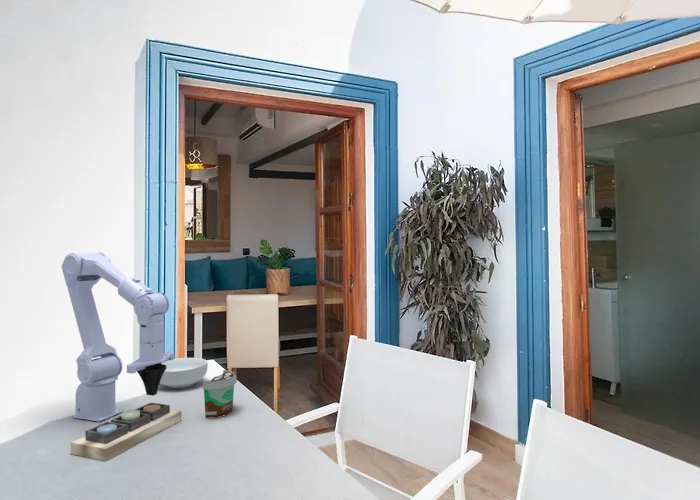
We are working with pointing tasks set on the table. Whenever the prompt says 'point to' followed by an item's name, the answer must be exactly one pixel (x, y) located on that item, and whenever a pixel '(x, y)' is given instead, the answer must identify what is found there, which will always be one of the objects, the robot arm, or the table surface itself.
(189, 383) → the cereal bowl
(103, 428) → the button blue
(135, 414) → the button sage
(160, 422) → the button board
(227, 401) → the food container
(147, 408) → the button terracotta
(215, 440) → the table surface
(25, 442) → the table surface
